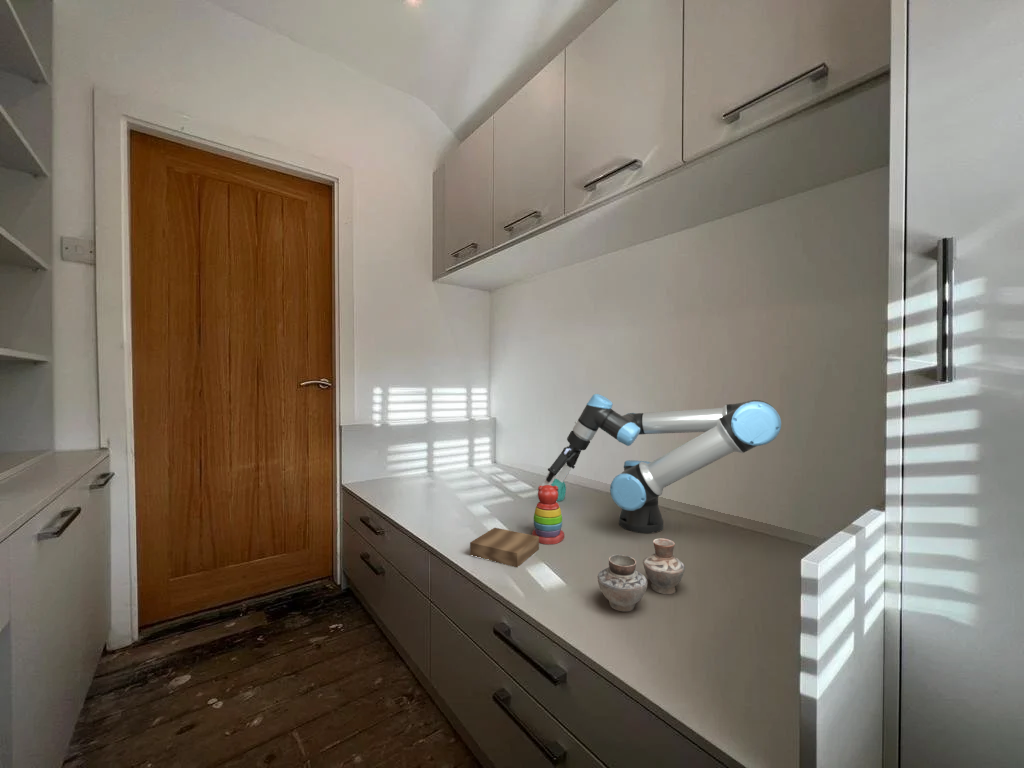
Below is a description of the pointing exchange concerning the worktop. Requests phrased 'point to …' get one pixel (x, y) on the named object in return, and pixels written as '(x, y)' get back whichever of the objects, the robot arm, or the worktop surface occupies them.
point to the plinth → (505, 546)
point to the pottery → (640, 576)
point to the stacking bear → (548, 516)
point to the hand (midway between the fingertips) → (552, 484)
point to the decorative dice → (560, 489)
